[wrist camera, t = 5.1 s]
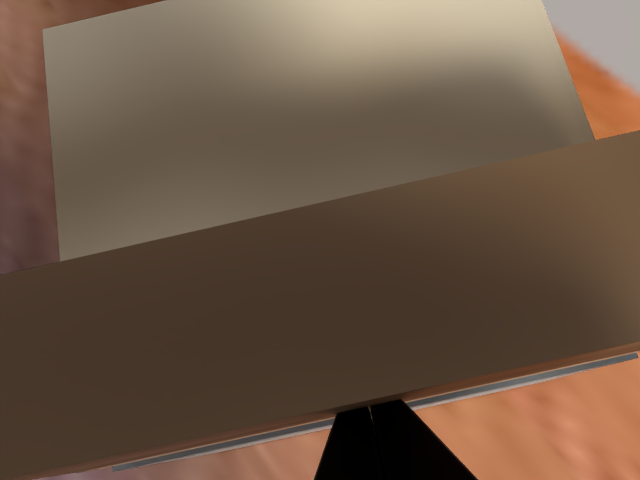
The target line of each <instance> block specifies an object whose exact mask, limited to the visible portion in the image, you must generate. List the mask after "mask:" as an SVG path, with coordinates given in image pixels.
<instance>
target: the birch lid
mask: <svg viewBox="0 0 640 480" xmlns="http://www.w3.org/2000/svg"><path fill="white" fill-rule="evenodd" d="M42 32H43V46H44V59H45V72H46V85H47V98H48V111H49V124H50V137H51V150H52V164H53V177H54V190H55V203H56V216H57V229H58V242H59V255H60V262H56V263H51V264H47V265H42V266H38V267H34V268H29V269H25V270H20V271H16V272H12V273H7V274H3V275H0V480H32V479H38V478H44V477H50V476H56V475H62V474H68V473H75V472H76V473H79V472H85V471H91V470H97V469H103V468H108V467H113V466H117V465H122V464H126V463H131V462H136V461H140V460H145V459H149V458H154V457H159V456H163V455H168V454H172V453H177V452H182V451H186V450H191V449H195V448H200V447H205V446H209V445H214V444H219V443H223V442H228V441H232V440H237V439H242V438H246V437H251V436H255V435H260V434H265V433H269V432H274V431H278V430H283V429H288V428H292V427H297V426H301V425H306V424H311V423H315V422H320V421H324V420H329V419H334V418H335V416H336V414H337V413H340V412H345V411H350V410H354V409H359V408H363V407H369V409H370V407H371V406H373V405H377V404H382V403H386V402H391V401H396V400H400V399H402V400H403V401H404V402H405V403H407V402H412V401H416V400H421V399H426V398H430V397H435V396H440V395H444V394H449V393H453V392H458V391H463V390H467V389H472V388H476V387H481V386H486V385H490V384H495V383H499V382H504V381H509V380H513V379H518V378H522V377H527V376H532V375H536V374H541V373H545V372H550V371H555V370H559V369H564V368H568V367H573V366H578V365H582V364H587V363H591V362H596V361H601V360H605V359H610V358H614V357H619V356H624V355H628V354H633V353H637V352H640V130H639V131H634V132H630V133H625V134H621V135H617V136H612V137H608V138H603V139H599V140H595V138H594V135H593V133H592V130H591V127H590V125H589V122H588V120H587V117H586V114H585V112H584V109H583V107H582V104H581V101H580V99H579V96H578V94H577V91H576V88H575V86H574V83H573V81H572V78H571V75H570V73H569V70H568V68H567V65H566V62H565V60H564V57H563V55H562V52H561V49H560V47H559V44H558V42H557V39H556V36H555V34H554V31H553V29H552V26H551V23H550V21H549V18H548V16H547V13H546V10H545V8H544V5H543V3H542V0H165V1H161V2H156V3H152V4H148V5H144V6H139V7H135V8H131V9H127V10H123V11H118V12H114V13H110V14H106V15H101V16H97V17H93V18H89V19H85V20H80V21H76V22H72V23H68V24H63V25H59V26H55V27H51V28H46V29H42Z"/></svg>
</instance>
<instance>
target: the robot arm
mask: <svg viewBox="0 0 640 480" xmlns="http://www.w3.org/2000/svg"><path fill="white" fill-rule="evenodd" d="M370 411H371V413H370ZM371 416H372V417H371ZM372 420H373V421H372ZM373 425H374V426H373ZM314 480H478V479H477V478H476V477H475V476H474V475H473V474H472V473H471V472H470V470H469V469H468V468H467V467H466V466H465V465H464V464H463V463H462V462H461V461H460V460H459V459H458V458H457V457H456V456H455V455H454V454H453V452H452V451H451V450H450V449H449V448H448V447H447V446H446V445H445V444H444V443H443V442H442V441H441V440H440V439H439V438H438V437H437V436H436V435H435V433H434V432H433V431H432V430H431V429H430V428H429V427H428V426H427V425H426V424H425V423H424V422H423V421H422V420H421V419H420V418H419V417H418V415H417V414H416V413H415V412H414V411H413V410H412V409H411V408H410V407H409V406H408V405H407V404H406V403H405V402H404V401H403V400H402V399H400V400H396V401H391V402H386V403H382V404H377V405H373V406H371V407H370V409H369V407H363V408H359V409H354V410H350V411H345V412H340V413H337V414H336V416H335V419H334V422H333V425H332V428H331V431H330V434H329V437H328V440H327V442H326V445H325V448H324V451H323V454H322V457H321V460H320V463H319V466H318V469H317V472H316V475H315V478H314Z"/></svg>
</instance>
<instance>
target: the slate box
mask: <svg viewBox="0 0 640 480" xmlns="http://www.w3.org/2000/svg"><path fill="white" fill-rule="evenodd" d="M636 358H638V355H637V353H633V354H628V355H624V356H619V357H614V358H610V359H605V360H601V361H596V362H591V363H587V364H582V365H578V366H573V367H568V368H564V369H559V370H555V371H550V372H545V373H541V374H536V375H532V376H527V377H522V378H518V379H513V380H509V381H504V382H499V383H495V384H490V385H486V386H481V387H476V388H472V389H467V390H463V391H458V392H453V393H449V394H444V395H440V396H435V397H430V398H426V399H421V400H416V401H412V402H407V403H406V404H407V405H408V406H409V407H410V408H411V409H412V410H416V409H421V408H425V407H430V406H434V405H439V404H444V403H448V402H453V401H457V400H462V399H467V398H471V397H476V396H481V395H485V394H490V393H494V392H499V391H504V390H508V389H513V388H517V387H522V386H527V385H531V384H536V383H540V382H544V381H548V380H552V379H556V378H560V377H564V376H568V375H572V374H576V373H580V372H584V371H588V370H592V369H596V368H600V367H604V366H608V365H612V364H616V363H620V362H624V361H628V360H632V359H636ZM370 413H371V411H370ZM371 417H372V416H371ZM334 419H335V418H334ZM334 419H329V420H324V421H320V422H315V423H311V424H306V425H301V426H297V427H292V428H288V429H283V430H278V431H274V432H269V433H265V434H260V435H255V436H251V437H246V438H242V439H237V440H232V441H228V442H223V443H219V444H214V445H209V446H205V447H200V448H195V449H191V450H186V451H182V452H177V453H172V454H168V455H163V456H159V457H154V458H149V459H145V460H140V461H136V462H131V463H126V464H122V465H117V466H113V472H115V471H120V470H126V469H131V468H137V467H142V466H147V465H153V464H158V463H164V462H169V461H174V460H180V459H185V458H191V457H196V456H201V455H207V454H212V453H218V452H222V451H227V450H231V449H236V448H241V447H245V446H250V445H255V444H259V443H264V442H268V441H273V440H278V439H282V438H287V437H291V436H296V435H301V434H305V433H310V432H314V431H319V430H324V429H328V428H332V425H333V422H334Z"/></svg>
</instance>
